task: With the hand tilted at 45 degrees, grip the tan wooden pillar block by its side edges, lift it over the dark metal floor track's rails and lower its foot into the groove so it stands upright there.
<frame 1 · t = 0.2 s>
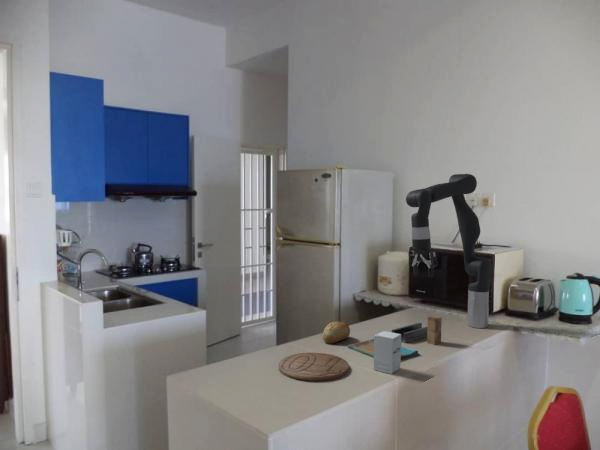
hand: (423, 276, 197), 29 cm above the countertop, tool pointing down, fingers open, 8 cm apart
trivet: (313, 369, 167), on the countertop
bread roll: (337, 340, 201), on the countertop
floor track: (412, 336, 207), on the countertop
tan wooden pillar block: (434, 342, 198), on the countertop
supplement box: (387, 369, 167), on the countertop
dish towel: (382, 353, 187), on the countertop
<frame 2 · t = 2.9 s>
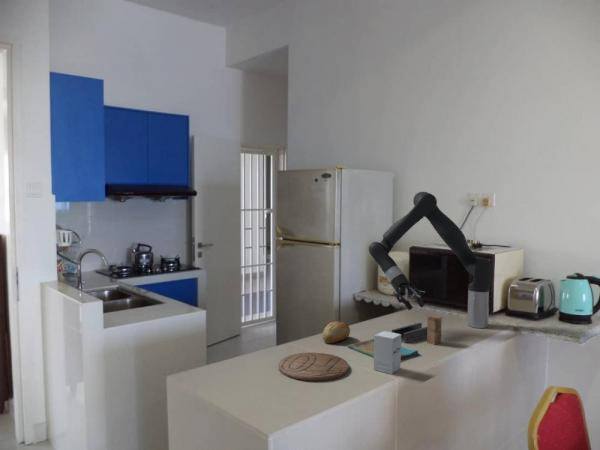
hand: (417, 307, 205), 13 cm above the countertop, tool tilted 45°, fingers open, 8 cm apart
nothing on the countertop moved.
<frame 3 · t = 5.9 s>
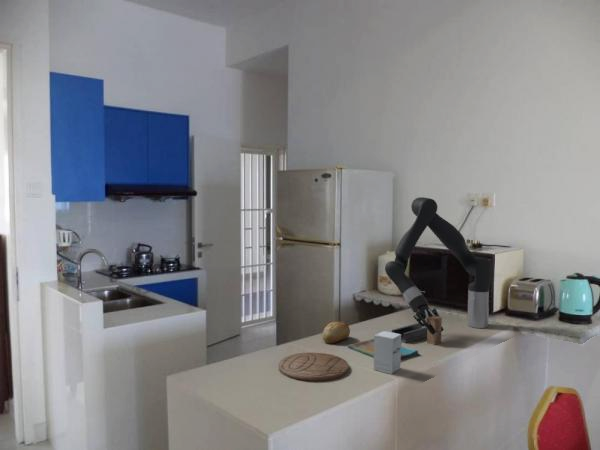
hand: (438, 332, 197), 5 cm above the countertop, tool tilted 45°, fingers closed on tan wooden pillar block, 5 cm apart
tan wooden pillar block: (434, 342, 198), on the countertop, touching gripper
everything else where it was.
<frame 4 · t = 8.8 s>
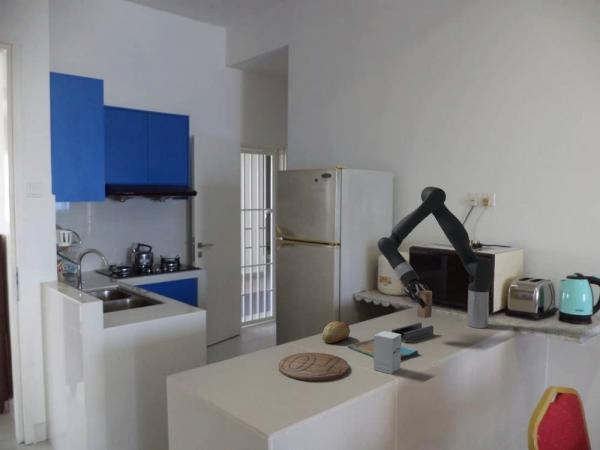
hand: (428, 306, 200), 15 cm above the countertop, tool tilted 45°, fingers closed on tan wooden pillar block, 5 cm apart
tan wooden pillar block: (424, 316, 202), point 10 cm above the countertop, touching gripper
everything else where it was.
when the fingers open (7 cm above the countertop, at t = 11.9 s): tan wooden pillar block drops 1 cm, resting on floor track.
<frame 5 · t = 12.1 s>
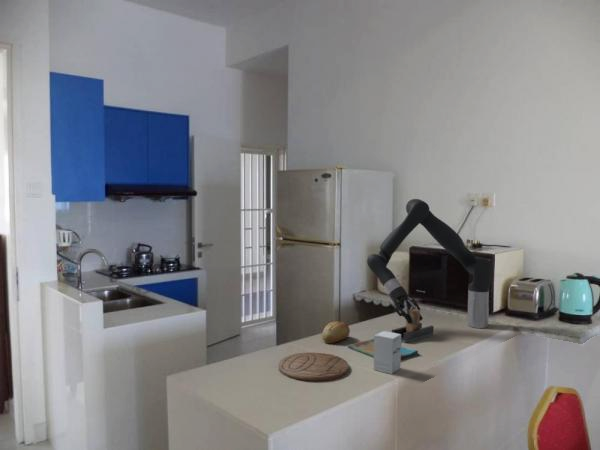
hand: (416, 321, 205), 7 cm above the countertop, tool tilted 45°, fingers open, 6 cm apart
tan wooden pillar block: (412, 334, 207), point 1 cm above the countertop, touching floor track
everything else where it was.
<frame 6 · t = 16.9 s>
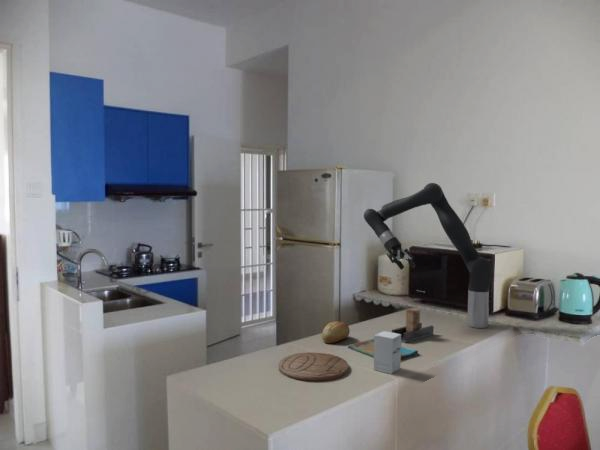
hand: (408, 267, 220), 29 cm above the countertop, tool tilted 45°, fingers open, 8 cm apart
nothing on the countertop moved.
at the end: tan wooden pillar block inside the target area on the floor track (0.1 cm from its centre), point 1.0 cm above the floor track's base; tan wooden pillar block tilted 0°; the gripper is holding nothing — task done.
